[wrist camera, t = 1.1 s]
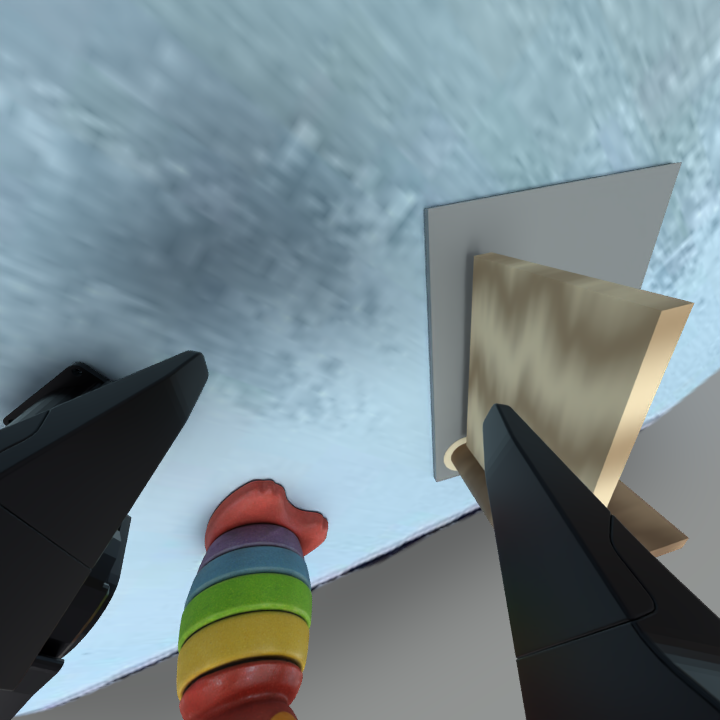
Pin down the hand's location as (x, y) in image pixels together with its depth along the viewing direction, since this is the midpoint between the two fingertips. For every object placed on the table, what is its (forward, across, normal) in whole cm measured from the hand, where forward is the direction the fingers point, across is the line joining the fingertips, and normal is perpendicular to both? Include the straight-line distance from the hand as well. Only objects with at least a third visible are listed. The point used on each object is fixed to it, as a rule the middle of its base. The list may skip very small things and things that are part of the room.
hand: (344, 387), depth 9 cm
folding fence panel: (+12, -9, +7) cm, 16 cm away
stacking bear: (+5, +7, +25) cm, 26 cm away
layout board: (+16, -14, +8) cm, 22 cm away
